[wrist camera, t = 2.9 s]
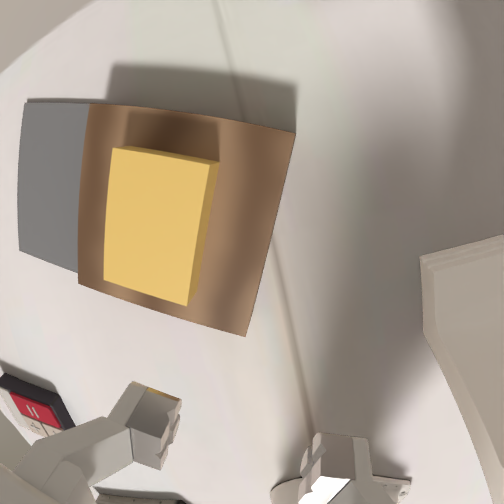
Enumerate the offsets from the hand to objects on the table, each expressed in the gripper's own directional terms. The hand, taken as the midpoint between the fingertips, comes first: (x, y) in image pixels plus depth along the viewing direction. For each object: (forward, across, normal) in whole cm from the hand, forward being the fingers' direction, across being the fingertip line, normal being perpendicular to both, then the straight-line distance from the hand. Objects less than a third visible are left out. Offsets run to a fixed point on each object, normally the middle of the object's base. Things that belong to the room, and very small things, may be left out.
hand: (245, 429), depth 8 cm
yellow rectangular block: (+16, +9, 0) cm, 18 cm away
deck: (+19, +9, 0) cm, 21 cm away
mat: (+19, +23, 0) cm, 30 cm away
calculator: (+20, +32, +40) cm, 55 cm away
